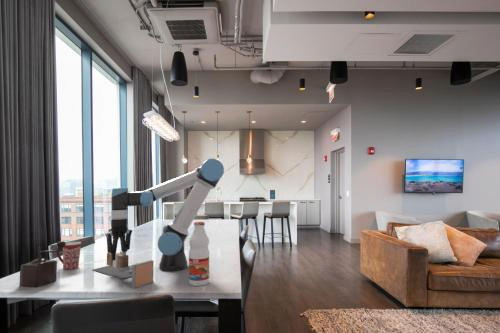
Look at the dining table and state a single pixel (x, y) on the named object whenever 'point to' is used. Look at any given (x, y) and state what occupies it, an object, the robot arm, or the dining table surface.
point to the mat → (113, 272)
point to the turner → (120, 262)
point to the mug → (70, 255)
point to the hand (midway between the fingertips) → (118, 265)
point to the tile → (142, 273)
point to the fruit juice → (199, 256)
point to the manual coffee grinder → (40, 269)
